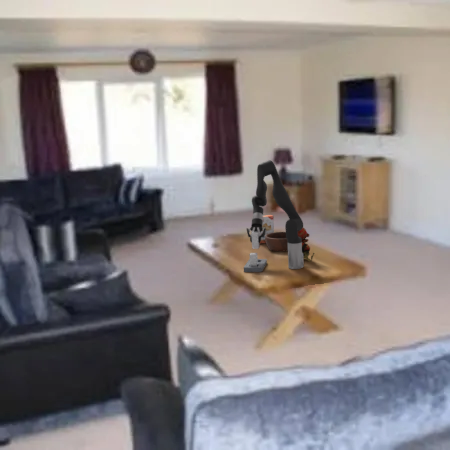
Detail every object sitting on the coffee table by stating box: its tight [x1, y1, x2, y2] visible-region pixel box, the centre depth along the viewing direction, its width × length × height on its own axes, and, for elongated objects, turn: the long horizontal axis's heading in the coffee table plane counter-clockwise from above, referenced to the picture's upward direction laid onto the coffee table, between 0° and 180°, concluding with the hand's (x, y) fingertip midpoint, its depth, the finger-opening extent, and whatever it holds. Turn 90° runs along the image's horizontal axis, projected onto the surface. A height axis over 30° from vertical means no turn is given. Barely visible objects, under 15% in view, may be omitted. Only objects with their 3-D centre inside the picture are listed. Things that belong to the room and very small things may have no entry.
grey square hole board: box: [243, 258, 268, 273], centre depth 448 cm, size 22×12×3 cm, turn 168°
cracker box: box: [260, 214, 275, 244], centre depth 518 cm, size 14×6×21 cm, turn 105°
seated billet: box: [249, 252, 259, 267], centre depth 442 cm, size 4×4×11 cm
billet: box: [250, 231, 261, 250], centre depth 450 cm, size 4×4×11 cm
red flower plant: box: [298, 227, 315, 262], centre depth 459 cm, size 15×17×25 cm
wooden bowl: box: [265, 231, 288, 252], centre depth 496 cm, size 25×25×10 cm
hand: (255, 241), depth 448 cm, fingers closed on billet, 4 cm apart
